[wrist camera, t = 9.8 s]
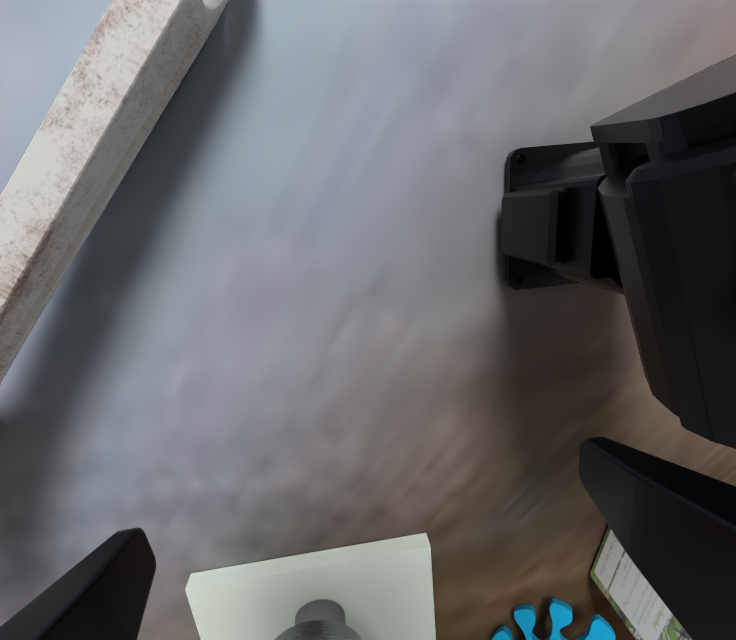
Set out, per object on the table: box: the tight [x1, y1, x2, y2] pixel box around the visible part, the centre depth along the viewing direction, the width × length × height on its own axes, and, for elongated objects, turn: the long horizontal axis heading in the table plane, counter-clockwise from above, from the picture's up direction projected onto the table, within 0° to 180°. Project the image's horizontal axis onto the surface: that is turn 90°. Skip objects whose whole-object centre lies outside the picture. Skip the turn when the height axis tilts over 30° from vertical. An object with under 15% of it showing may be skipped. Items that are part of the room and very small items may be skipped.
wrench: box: [0, 0, 229, 384], centre depth 14 cm, size 8×2×30 cm
